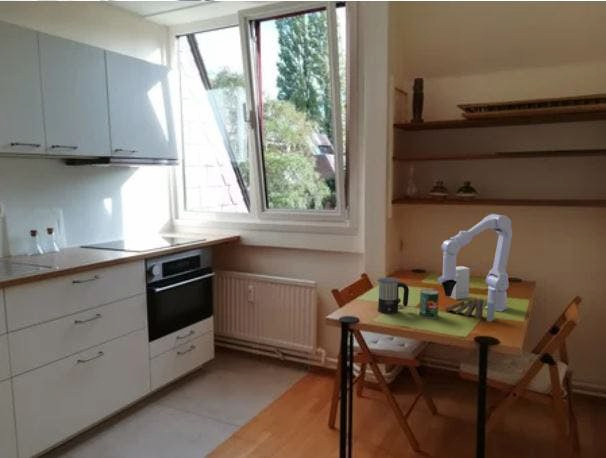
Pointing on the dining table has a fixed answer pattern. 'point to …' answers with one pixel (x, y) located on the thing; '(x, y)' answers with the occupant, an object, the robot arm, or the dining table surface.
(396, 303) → the milk frother
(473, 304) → the domino
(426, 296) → the canned tomato
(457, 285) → the skincare box
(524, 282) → the dining table surface
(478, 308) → the domino
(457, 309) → the domino
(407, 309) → the dining table surface
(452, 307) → the domino
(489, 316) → the domino
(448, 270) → the robot arm
